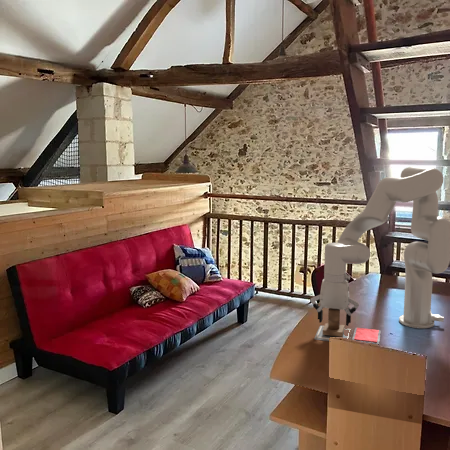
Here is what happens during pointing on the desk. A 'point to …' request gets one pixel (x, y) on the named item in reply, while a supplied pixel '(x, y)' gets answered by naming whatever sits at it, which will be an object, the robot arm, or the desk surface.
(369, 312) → the desk surface
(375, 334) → the ink pad
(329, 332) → the stamp
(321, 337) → the board
